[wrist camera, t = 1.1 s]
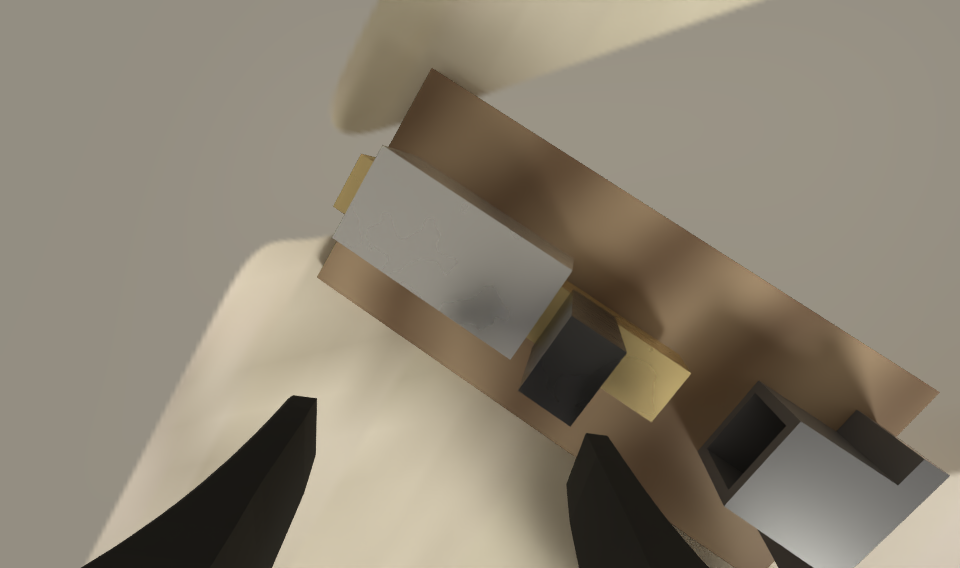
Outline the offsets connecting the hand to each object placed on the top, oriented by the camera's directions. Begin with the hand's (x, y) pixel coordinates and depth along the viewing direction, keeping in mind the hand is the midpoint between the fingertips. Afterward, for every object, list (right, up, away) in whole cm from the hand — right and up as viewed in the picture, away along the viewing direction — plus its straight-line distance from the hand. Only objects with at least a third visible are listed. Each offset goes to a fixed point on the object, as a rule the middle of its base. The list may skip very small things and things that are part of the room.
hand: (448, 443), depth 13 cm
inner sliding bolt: (+2, +5, +10) cm, 11 cm away
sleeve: (0, +6, +11) cm, 13 cm away
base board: (+7, +2, +11) cm, 13 cm away
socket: (+14, -3, +10) cm, 17 cm away
